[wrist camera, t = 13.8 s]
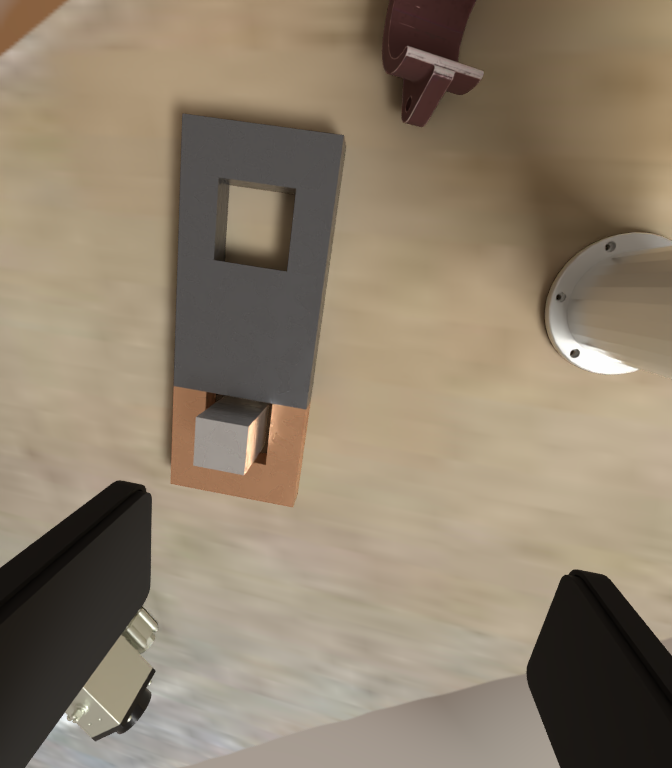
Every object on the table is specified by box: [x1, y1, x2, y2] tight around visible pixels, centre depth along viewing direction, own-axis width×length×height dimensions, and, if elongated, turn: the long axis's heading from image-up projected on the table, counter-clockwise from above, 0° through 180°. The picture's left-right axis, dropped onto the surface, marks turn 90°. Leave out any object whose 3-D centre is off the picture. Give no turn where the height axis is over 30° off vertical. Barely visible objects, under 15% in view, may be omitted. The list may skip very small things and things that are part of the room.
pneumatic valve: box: [65, 608, 158, 741], centre depth 44 cm, size 6×12×12 cm, turn 35°
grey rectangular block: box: [193, 395, 270, 475], centre depth 37 cm, size 5×5×7 cm
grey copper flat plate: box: [171, 114, 346, 507], centre depth 37 cm, size 14×36×2 cm, turn 171°
